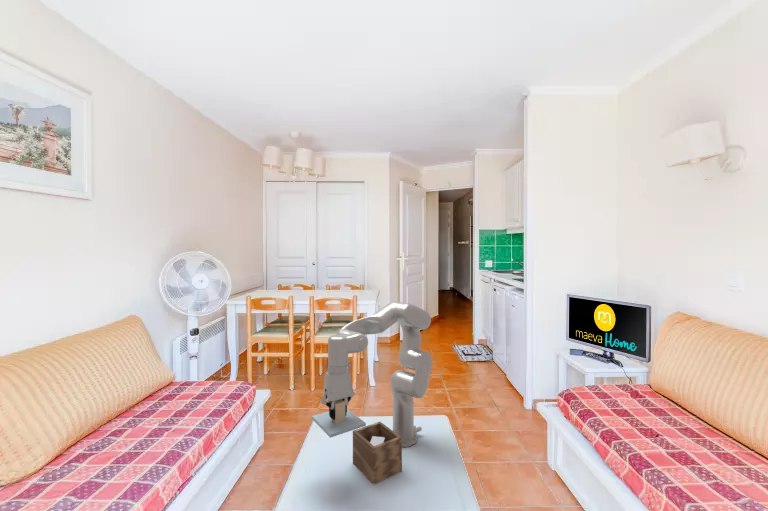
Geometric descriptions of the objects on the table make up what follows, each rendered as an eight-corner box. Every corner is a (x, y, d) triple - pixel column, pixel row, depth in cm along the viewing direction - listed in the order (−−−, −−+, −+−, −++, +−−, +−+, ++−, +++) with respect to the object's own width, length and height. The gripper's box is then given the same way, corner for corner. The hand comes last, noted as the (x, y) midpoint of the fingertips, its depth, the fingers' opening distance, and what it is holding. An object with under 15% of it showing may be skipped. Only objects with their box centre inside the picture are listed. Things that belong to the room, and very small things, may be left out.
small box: (381, 474, 133) (381, 448, 133) (367, 473, 134) (367, 446, 134) (385, 462, 141) (385, 437, 141) (372, 460, 142) (372, 435, 142)
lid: (344, 411, 141) (344, 389, 141) (365, 429, 127) (365, 404, 127) (311, 421, 133) (311, 397, 132) (330, 441, 119) (330, 414, 119)
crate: (380, 452, 148) (380, 421, 148) (401, 471, 135) (401, 437, 135) (352, 463, 140) (352, 430, 140) (373, 484, 128) (373, 448, 127)
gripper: (352, 361, 137) (352, 407, 138) (313, 369, 128) (313, 418, 128) (362, 367, 131) (362, 414, 131) (321, 375, 122) (321, 427, 122)
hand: (338, 416), depth 130 cm, fingers closed on lid, 4 cm apart
